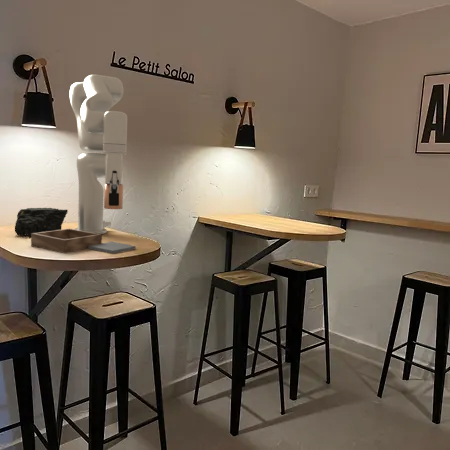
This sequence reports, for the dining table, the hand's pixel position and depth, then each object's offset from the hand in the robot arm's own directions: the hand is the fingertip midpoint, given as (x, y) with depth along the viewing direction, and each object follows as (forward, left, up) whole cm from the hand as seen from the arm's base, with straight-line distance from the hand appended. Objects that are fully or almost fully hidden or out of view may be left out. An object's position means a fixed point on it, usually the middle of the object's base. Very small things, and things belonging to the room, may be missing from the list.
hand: (113, 204), depth 150 cm
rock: (-2, -37, -16) cm, 40 cm away
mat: (0, 0, -15) cm, 15 cm away
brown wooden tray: (+7, -14, -15) cm, 22 cm away
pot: (0, 0, -1) cm, 1 cm away
